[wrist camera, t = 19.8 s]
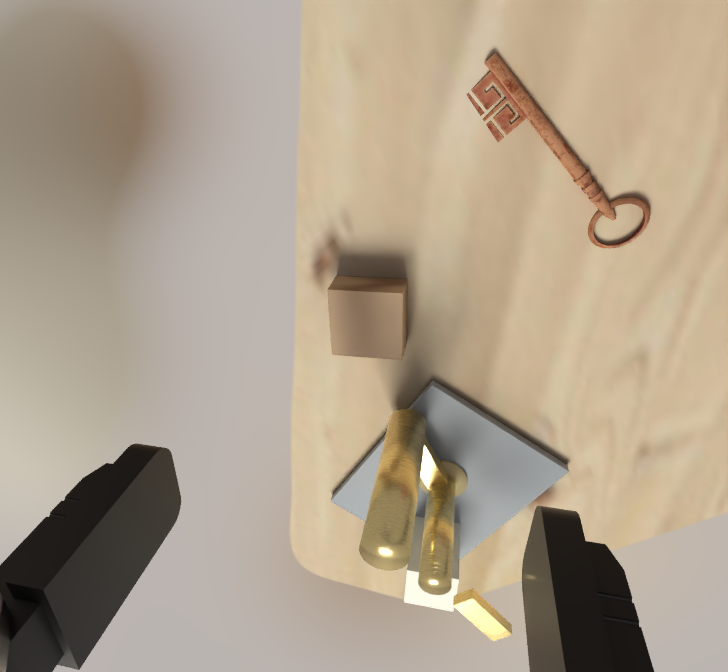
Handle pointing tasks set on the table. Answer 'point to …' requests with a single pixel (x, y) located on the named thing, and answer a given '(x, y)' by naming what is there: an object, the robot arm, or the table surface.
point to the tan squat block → (368, 316)
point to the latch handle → (397, 516)
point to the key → (545, 139)
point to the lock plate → (462, 480)
